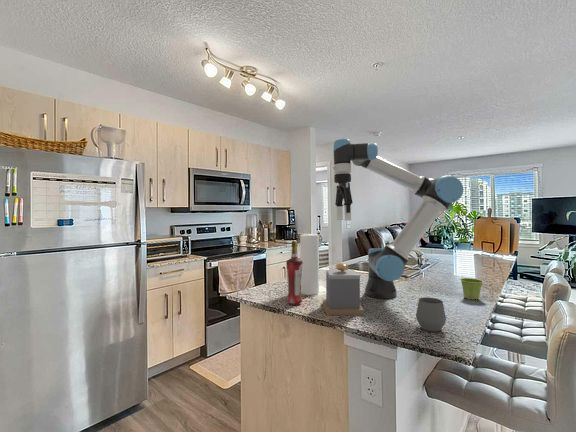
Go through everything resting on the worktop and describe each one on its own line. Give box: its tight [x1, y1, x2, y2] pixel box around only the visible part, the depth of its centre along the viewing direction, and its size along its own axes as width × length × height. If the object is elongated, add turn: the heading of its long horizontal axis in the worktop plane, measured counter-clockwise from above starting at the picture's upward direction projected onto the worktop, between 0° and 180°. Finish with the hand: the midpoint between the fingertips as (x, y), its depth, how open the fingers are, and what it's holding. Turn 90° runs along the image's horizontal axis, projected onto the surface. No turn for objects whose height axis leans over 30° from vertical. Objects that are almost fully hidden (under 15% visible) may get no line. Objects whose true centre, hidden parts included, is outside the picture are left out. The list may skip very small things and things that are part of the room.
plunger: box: [335, 262, 349, 273], centre depth 128 cm, size 9×9×16 cm
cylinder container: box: [299, 233, 320, 296], centre depth 155 cm, size 9×9×30 cm
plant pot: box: [459, 277, 484, 301], centre depth 144 cm, size 9×9×9 cm
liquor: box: [286, 240, 303, 306], centre depth 136 cm, size 7×7×28 cm
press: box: [322, 269, 365, 316], centre depth 128 cm, size 15×15×16 cm
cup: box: [415, 296, 447, 333], centre depth 106 cm, size 10×9×10 cm
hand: (343, 220), depth 139 cm, fingers open, 13 cm apart
